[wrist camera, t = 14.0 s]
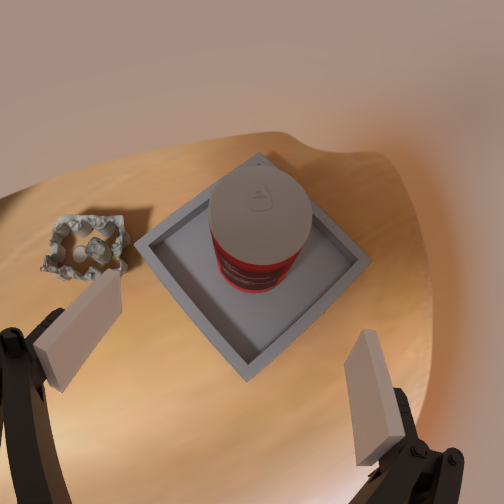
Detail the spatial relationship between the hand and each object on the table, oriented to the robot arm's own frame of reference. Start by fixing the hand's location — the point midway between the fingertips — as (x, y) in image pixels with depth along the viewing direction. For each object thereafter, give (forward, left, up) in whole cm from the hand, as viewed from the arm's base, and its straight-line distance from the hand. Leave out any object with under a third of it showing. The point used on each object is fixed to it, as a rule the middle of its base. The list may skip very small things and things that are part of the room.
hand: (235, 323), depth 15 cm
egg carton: (-18, -7, -16) cm, 25 cm away
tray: (-5, +7, -15) cm, 18 cm away
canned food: (-5, +7, -15) cm, 17 cm away
